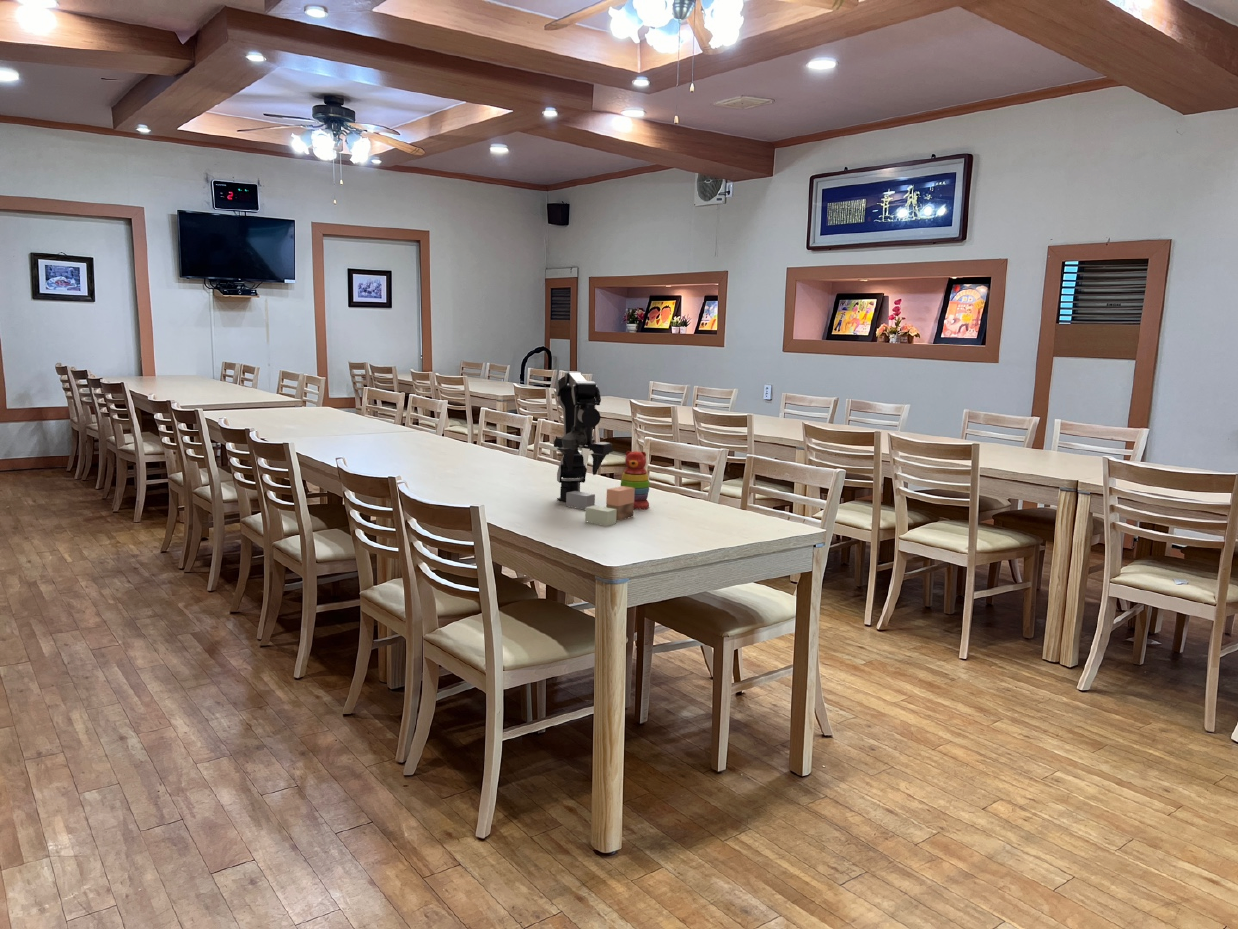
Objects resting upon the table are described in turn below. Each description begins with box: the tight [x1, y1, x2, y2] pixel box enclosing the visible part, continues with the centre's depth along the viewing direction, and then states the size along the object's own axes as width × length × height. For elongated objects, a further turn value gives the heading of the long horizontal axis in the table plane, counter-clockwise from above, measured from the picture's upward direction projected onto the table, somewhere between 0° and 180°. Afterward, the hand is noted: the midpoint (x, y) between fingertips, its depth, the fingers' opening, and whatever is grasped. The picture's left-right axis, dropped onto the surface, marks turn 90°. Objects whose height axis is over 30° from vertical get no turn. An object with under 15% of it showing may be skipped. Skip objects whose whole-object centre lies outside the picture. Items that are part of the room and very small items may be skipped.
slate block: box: [565, 491, 596, 510], centre depth 279 cm, size 8×4×4 cm, turn 55°
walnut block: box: [605, 503, 635, 521], centre depth 265 cm, size 8×4×4 cm, turn 145°
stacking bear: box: [620, 450, 650, 510], centre depth 283 cm, size 11×10×18 cm
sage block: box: [584, 504, 617, 527], centre depth 257 cm, size 8×4×4 cm, turn 55°
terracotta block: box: [605, 485, 635, 506], centre depth 264 cm, size 8×4×4 cm, turn 143°
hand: (582, 472), depth 270 cm, fingers open, 9 cm apart
